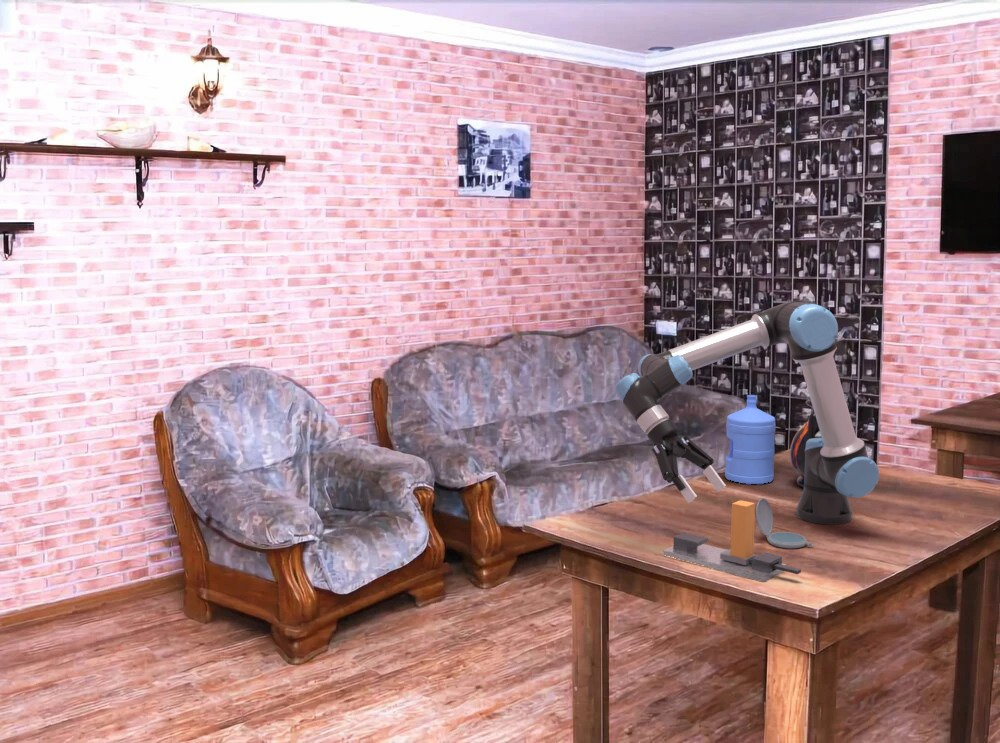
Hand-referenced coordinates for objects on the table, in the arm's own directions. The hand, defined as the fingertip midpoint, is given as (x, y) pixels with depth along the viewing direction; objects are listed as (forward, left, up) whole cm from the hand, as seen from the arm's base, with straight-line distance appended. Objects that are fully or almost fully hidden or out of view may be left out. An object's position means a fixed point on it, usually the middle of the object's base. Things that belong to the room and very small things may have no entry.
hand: (707, 494), depth 246 cm
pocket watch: (-20, -17, -17) cm, 32 cm away
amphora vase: (-35, -79, -17) cm, 88 cm away
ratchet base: (-4, +2, -17) cm, 17 cm away
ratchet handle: (-13, +7, -15) cm, 21 cm away
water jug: (-12, -84, -17) cm, 86 cm away
